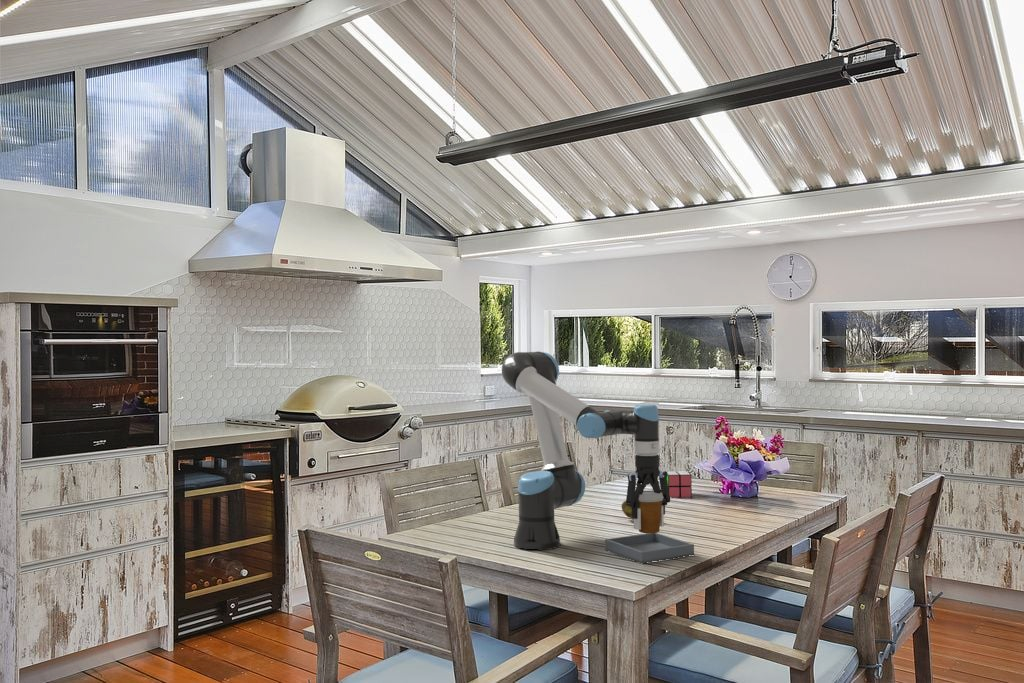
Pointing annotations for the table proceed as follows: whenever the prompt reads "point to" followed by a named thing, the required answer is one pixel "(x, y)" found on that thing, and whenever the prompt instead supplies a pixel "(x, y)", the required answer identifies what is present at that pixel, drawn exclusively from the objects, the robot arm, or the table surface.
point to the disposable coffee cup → (650, 511)
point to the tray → (649, 547)
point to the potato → (627, 510)
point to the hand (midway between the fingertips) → (648, 527)
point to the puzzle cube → (679, 484)
